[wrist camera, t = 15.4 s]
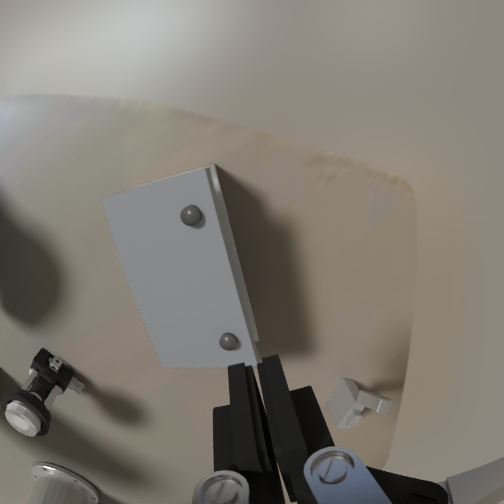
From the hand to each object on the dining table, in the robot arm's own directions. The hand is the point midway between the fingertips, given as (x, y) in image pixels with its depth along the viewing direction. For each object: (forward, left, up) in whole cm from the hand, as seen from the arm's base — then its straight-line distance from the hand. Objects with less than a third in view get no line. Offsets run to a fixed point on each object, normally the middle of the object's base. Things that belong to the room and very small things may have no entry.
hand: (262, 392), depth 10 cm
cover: (0, +4, -13) cm, 13 cm away
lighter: (-19, -8, -19) cm, 28 cm away
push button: (-9, +23, -19) cm, 31 cm away
